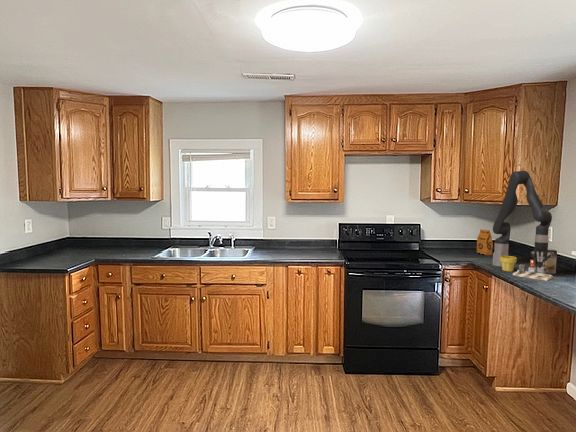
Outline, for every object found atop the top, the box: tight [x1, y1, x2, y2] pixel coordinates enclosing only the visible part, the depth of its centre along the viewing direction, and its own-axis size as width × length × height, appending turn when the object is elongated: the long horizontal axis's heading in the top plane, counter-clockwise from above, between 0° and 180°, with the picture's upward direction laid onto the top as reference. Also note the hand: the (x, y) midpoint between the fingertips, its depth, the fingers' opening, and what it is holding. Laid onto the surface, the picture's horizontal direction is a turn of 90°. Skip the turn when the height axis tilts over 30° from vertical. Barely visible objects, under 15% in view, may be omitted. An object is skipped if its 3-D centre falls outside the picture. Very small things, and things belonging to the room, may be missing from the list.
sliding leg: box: [527, 259, 537, 274], centre depth 259 cm, size 4×8×9 cm, turn 131°
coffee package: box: [476, 229, 494, 256], centre depth 343 cm, size 10×12×22 cm
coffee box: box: [536, 248, 558, 274], centre depth 271 cm, size 9×6×16 cm
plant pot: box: [500, 255, 518, 272], centre depth 277 cm, size 10×10×10 cm
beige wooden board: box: [512, 263, 554, 282], centre depth 258 cm, size 20×12×6 cm, turn 41°
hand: (540, 267), depth 257 cm, fingers closed
